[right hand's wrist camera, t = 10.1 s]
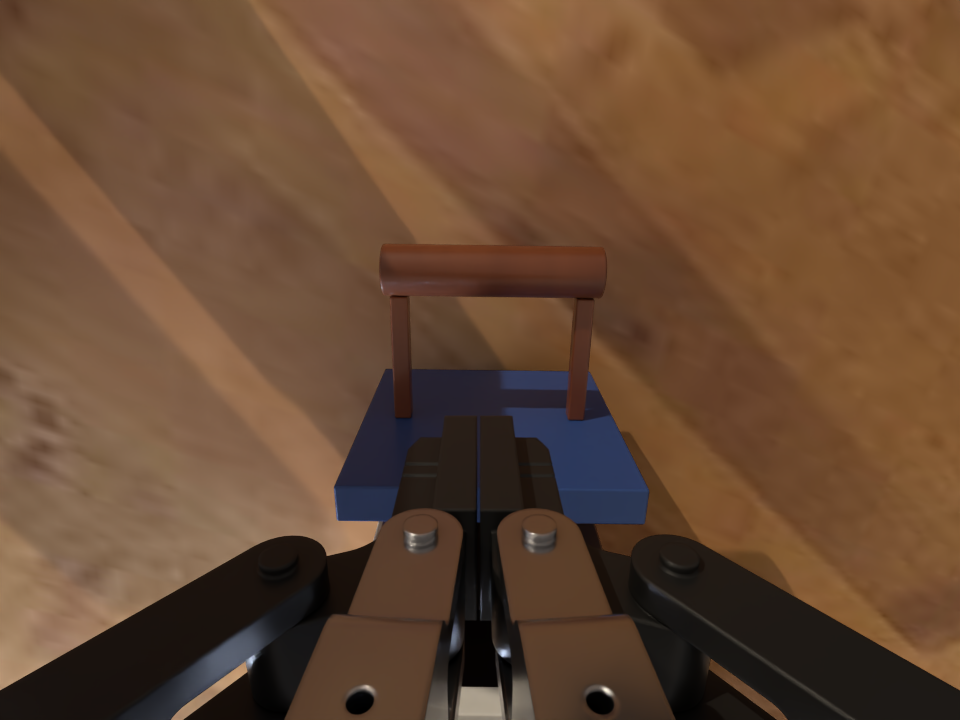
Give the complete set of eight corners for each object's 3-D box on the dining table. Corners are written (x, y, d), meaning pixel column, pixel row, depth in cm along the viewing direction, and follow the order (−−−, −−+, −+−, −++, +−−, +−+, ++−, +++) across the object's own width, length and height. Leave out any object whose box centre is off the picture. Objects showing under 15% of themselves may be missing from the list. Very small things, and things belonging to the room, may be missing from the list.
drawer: (378, 226, 22) (314, 272, 14) (602, 229, 23) (680, 277, 14) (396, 602, 29) (360, 794, 20) (569, 604, 29) (607, 796, 20)
